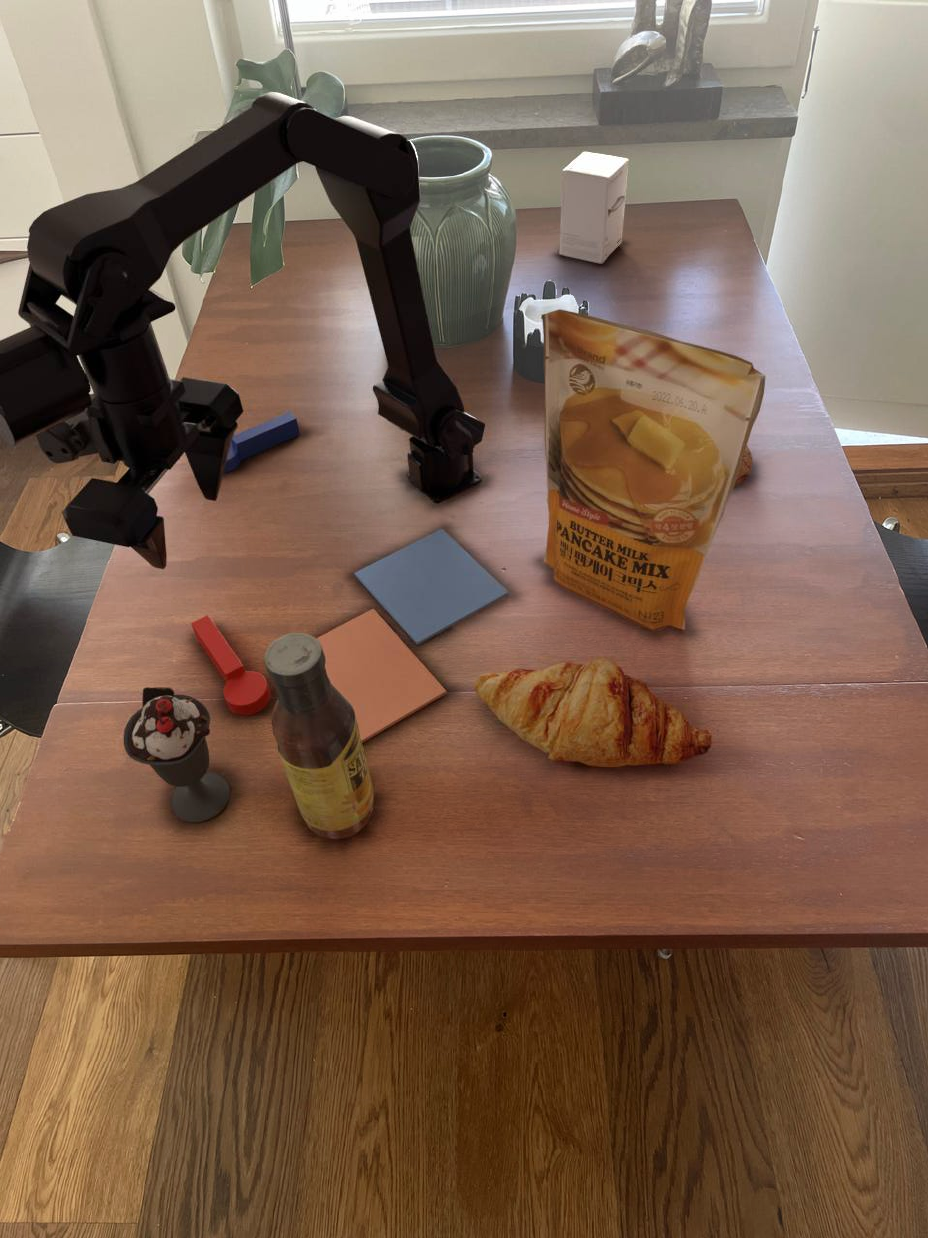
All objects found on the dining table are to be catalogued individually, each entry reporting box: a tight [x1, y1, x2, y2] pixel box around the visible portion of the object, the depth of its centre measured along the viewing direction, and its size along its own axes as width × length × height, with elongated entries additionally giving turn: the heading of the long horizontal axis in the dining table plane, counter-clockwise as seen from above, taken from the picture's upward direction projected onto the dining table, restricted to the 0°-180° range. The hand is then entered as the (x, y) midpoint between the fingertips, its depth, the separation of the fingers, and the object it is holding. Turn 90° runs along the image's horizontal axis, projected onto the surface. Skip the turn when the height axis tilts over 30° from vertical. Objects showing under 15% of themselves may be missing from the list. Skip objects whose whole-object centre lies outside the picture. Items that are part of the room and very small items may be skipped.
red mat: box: [316, 608, 447, 744], centre depth 87 cm, size 10×13×1 cm
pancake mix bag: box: [540, 308, 766, 633], centre depth 82 cm, size 7×19×28 cm, turn 52°
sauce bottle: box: [263, 632, 375, 840], centre depth 70 cm, size 7×6×20 cm
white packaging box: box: [558, 151, 629, 265], centre depth 135 cm, size 7×7×13 cm
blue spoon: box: [223, 411, 301, 474], centre depth 110 cm, size 12×4×2 cm, turn 125°
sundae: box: [123, 686, 231, 824], centre depth 73 cm, size 7×7×15 cm
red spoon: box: [190, 614, 271, 716], centre depth 87 cm, size 12×4×2 cm, turn 35°
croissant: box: [474, 657, 713, 768], centre depth 79 cm, size 21×10×8 cm, turn 70°
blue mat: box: [354, 528, 510, 646], centre depth 94 cm, size 11×12×1 cm
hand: (186, 531), depth 82 cm, fingers open, 9 cm apart
